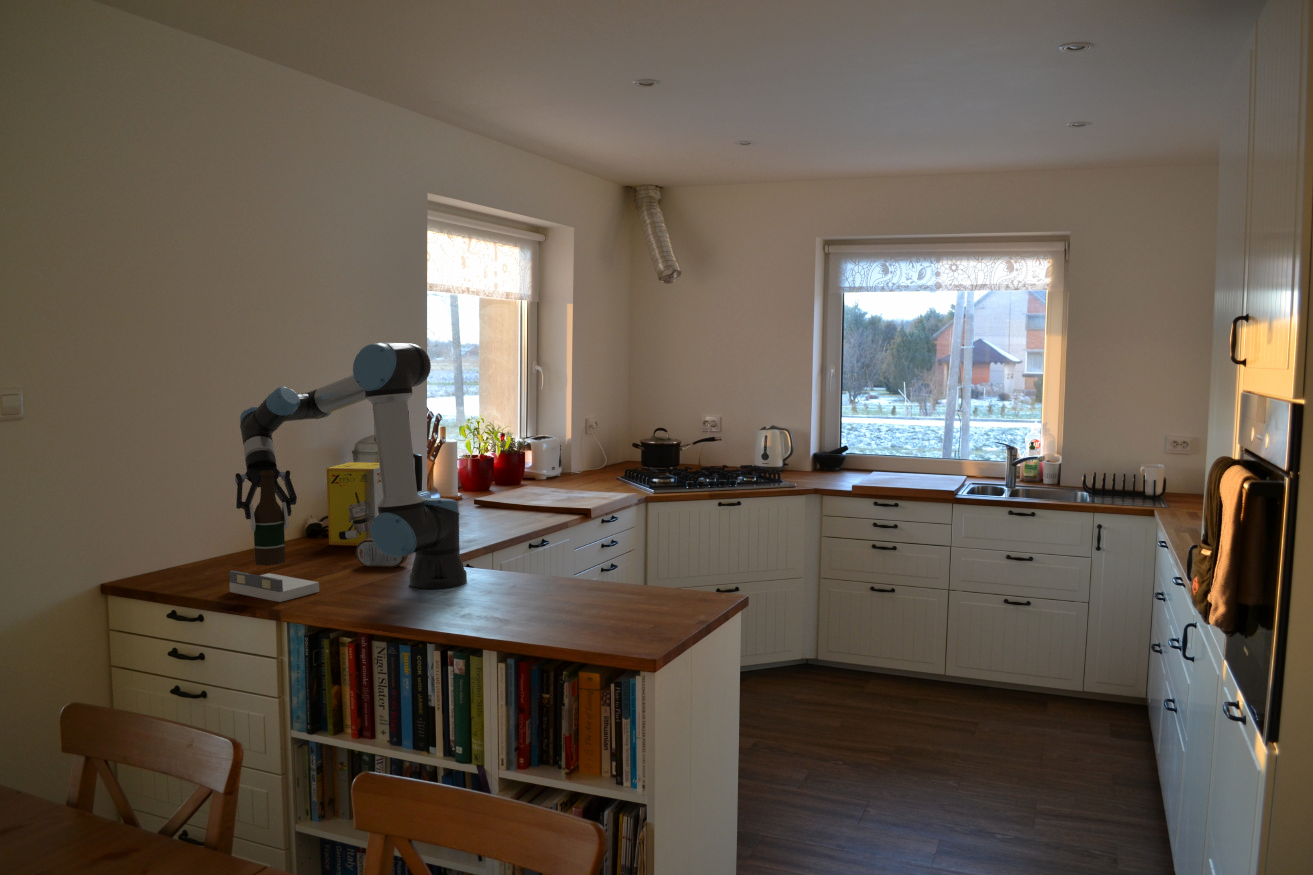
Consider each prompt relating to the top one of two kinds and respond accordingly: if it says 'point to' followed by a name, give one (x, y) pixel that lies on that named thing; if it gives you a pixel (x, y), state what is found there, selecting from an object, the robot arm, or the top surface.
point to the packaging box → (352, 501)
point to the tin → (376, 555)
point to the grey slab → (271, 586)
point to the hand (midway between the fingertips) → (270, 526)
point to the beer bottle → (269, 525)
